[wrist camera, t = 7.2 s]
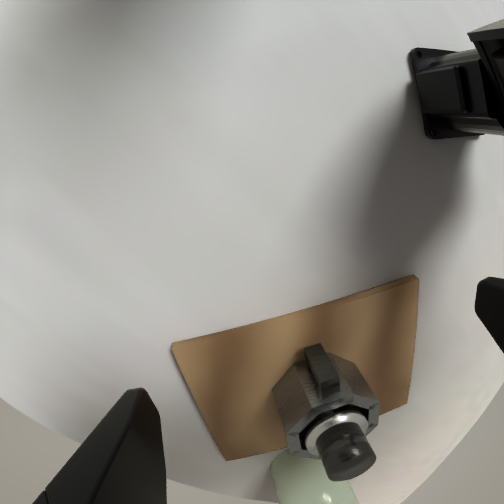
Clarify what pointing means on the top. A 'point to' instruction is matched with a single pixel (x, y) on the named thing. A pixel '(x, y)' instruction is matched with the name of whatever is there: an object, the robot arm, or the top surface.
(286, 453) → the sage mug
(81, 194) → the top surface
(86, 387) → the top surface
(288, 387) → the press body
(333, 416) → the plunger
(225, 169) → the top surface
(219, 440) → the walnut board
